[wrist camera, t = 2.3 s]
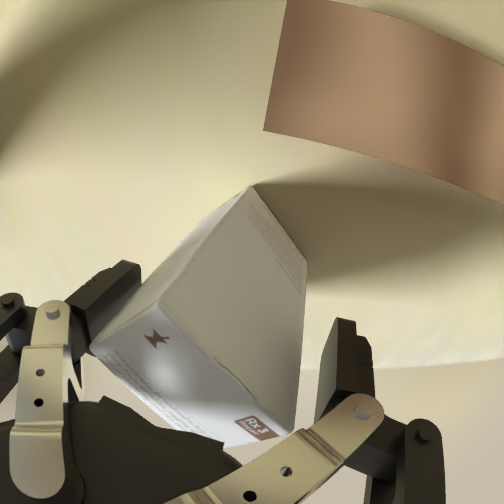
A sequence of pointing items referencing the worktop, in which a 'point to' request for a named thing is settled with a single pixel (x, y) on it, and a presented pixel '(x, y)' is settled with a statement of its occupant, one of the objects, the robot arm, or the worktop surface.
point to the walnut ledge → (389, 93)
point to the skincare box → (217, 328)
